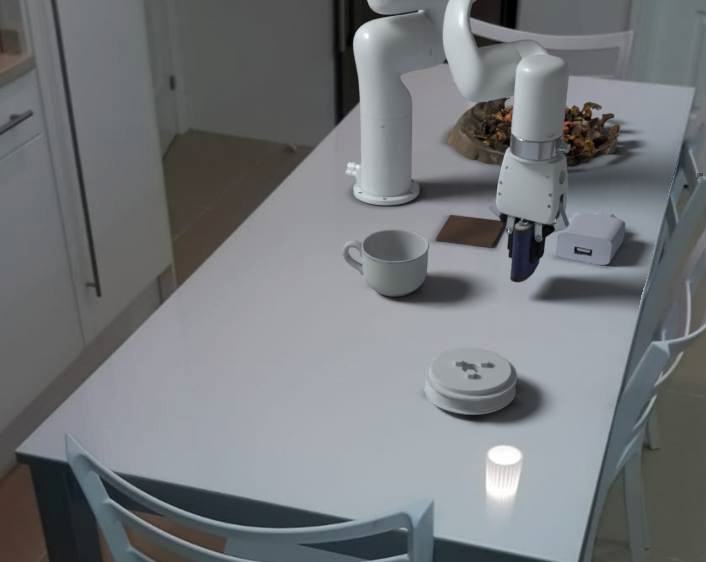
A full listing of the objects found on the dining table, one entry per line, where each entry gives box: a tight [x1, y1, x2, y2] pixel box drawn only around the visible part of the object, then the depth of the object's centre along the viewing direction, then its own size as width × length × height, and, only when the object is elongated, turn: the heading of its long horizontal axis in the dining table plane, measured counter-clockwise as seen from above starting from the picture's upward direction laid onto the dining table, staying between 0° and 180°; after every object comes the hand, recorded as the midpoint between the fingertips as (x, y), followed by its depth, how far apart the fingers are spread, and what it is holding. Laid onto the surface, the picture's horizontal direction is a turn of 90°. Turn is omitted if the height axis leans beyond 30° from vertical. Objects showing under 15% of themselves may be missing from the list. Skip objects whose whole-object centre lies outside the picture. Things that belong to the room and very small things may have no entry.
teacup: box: [341, 228, 430, 298], centre depth 175 cm, size 14×11×8 cm
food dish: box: [445, 96, 621, 167], centre depth 225 cm, size 35×33×8 cm
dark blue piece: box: [509, 219, 541, 284], centre depth 171 cm, size 9×3×11 cm, turn 152°
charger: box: [555, 211, 626, 266], centre depth 187 cm, size 5×9×15 cm
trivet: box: [435, 214, 504, 248], centre depth 193 cm, size 10×10×1 cm
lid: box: [423, 347, 518, 416], centre depth 151 cm, size 13×13×5 cm
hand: (524, 256), depth 172 cm, fingers closed on dark blue piece, 3 cm apart
